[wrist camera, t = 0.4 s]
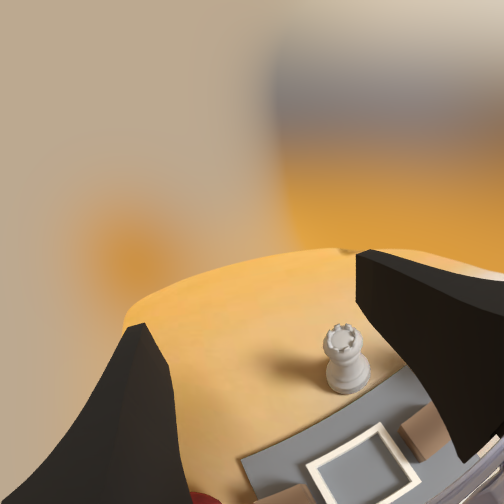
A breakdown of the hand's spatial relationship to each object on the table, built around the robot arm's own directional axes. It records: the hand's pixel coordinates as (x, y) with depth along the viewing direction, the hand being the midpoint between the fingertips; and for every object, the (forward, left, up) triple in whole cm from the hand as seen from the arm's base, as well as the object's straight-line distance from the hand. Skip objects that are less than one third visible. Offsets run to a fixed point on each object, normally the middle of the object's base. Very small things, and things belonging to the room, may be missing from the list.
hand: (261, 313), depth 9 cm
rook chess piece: (+5, -4, -21) cm, 22 cm away
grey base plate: (-5, 0, -21) cm, 21 cm away
